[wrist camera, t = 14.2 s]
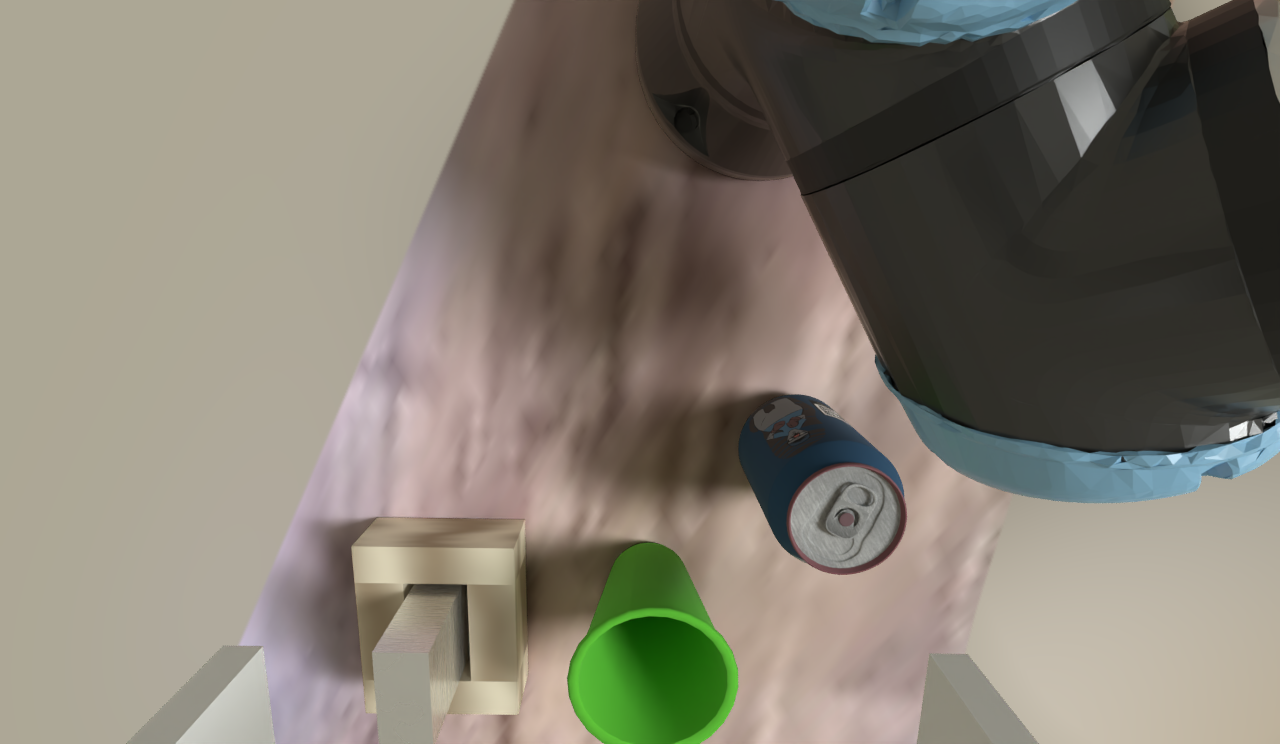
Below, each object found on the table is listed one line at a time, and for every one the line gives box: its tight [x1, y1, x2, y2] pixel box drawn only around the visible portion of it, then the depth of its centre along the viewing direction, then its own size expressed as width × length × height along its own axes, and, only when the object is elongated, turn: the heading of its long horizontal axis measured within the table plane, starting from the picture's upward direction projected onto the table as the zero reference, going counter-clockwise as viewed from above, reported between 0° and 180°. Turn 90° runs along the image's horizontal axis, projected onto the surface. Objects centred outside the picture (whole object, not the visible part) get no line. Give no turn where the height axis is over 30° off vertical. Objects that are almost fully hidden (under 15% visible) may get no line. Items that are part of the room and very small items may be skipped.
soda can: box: [738, 394, 907, 575], centre depth 36 cm, size 7×7×12 cm
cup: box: [567, 542, 738, 744], centre depth 38 cm, size 9×9×11 cm
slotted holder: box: [351, 517, 528, 715], centre depth 42 cm, size 10×12×4 cm
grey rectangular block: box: [372, 584, 470, 744], centre depth 39 cm, size 3×6×10 cm, turn 179°
